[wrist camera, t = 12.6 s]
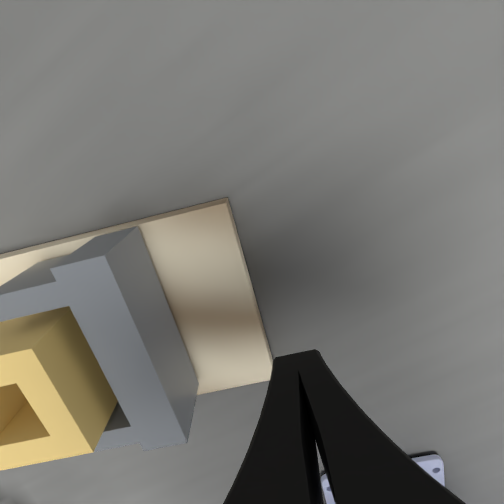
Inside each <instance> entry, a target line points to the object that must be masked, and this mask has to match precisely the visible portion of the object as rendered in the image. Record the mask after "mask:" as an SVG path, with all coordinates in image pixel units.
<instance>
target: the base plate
mask: <svg viewBox="0 0 504 504" xmlns="http://www.w3.org/2000/svg"><path fill="white" fill-rule="evenodd" d="M136 226H138V228H139V231H140V233H141V236H142V238H143V241H144V244H145V246H146V249H147V251H148V254H149V256H150V259H151V262H152V264H153V267H154V269H155V272H156V274H157V277H158V280H159V282H160V285H161V287H162V290H163V292H164V295H165V298H166V300H167V303H168V305H169V308H170V310H171V313H172V316H173V318H174V321H175V323H176V326H177V328H178V331H179V334H180V336H181V339H182V341H183V344H184V346H185V349H186V352H187V354H188V357H189V359H190V362H191V364H192V367H193V370H194V372H195V375H196V377H197V380H198V382H199V386H198V391H197V395H199V394H204V393H209V392H214V391H219V390H224V389H229V388H234V387H238V386H243V385H248V384H253V383H258V382H263V381H268V380H270V378H271V372H272V365H273V359H272V356H271V352H270V348H269V345H268V341H267V338H266V334H265V330H264V327H263V323H262V320H261V316H260V312H259V309H258V305H257V302H256V298H255V294H254V291H253V287H252V284H251V280H250V276H249V273H248V269H247V265H246V262H245V258H244V255H243V251H242V247H241V244H240V240H239V237H238V233H237V229H236V226H235V222H234V219H233V215H232V211H231V208H230V204H229V201H228V197H227V198H223V199H219V200H215V201H211V202H207V203H203V204H199V205H195V206H191V207H187V208H183V209H179V210H175V211H171V212H167V213H163V214H159V215H155V216H151V217H147V218H143V219H139V220H135V221H131V222H127V223H123V224H119V225H115V226H111V227H107V228H103V229H99V230H95V231H91V232H87V233H83V234H79V235H75V236H71V237H67V238H64V239H60V240H56V241H52V242H48V243H44V244H40V245H36V246H32V247H28V248H24V249H20V250H16V251H12V252H8V253H4V254H0V286H1V285H3V284H5V283H6V282H8V281H9V280H11V279H12V278H14V277H16V276H17V275H19V274H20V273H22V272H23V271H25V270H27V269H28V268H30V267H31V266H33V265H35V264H36V263H38V262H41V261H45V260H49V259H53V258H57V257H61V256H65V255H69V254H71V253H73V252H74V251H76V250H77V249H78V248H80V247H81V246H83V245H84V244H86V243H87V242H88V241H90V240H91V239H93V238H94V237H96V236H100V235H104V234H108V233H112V232H116V231H120V230H124V229H128V228H132V227H136Z"/></svg>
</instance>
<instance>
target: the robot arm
mask: <svg viewBox="0 0 504 504" xmlns="http://www.w3.org/2000/svg"><path fill="white" fill-rule="evenodd" d="M315 440H316V441H315ZM316 443H317V446H318V450H319V453H320V456H321V459H322V463H323V466H324V469H325V472H326V474H324V475H322V477H321V481H320V473H319V465H318V457H317V449H316ZM321 484H322V488H323V492H324V496H325V499H326V503H327V504H465V503H464V502H463V501H462V500H460V499H459V498H458V497H457V496H455V495H454V494H453V493H452V492H450V491H449V490H448V489H447V488H445V483H444V464H443V461H442V459H441V457H440V456H439V455H435V454H434V455H427V456H421V457H416V458H410V457H409V456H408V455H407V454H406V453H405V452H403V451H402V450H401V449H400V448H399V447H398V446H397V445H396V444H395V443H394V442H393V441H392V440H391V439H390V438H389V437H388V436H387V435H386V434H385V433H384V432H383V431H382V430H381V429H380V428H379V427H378V426H377V425H376V424H375V423H374V422H373V421H372V420H371V419H370V418H369V417H368V416H367V415H366V414H365V413H364V411H363V410H362V409H361V408H360V407H359V406H358V405H357V404H356V402H355V401H354V400H353V399H352V398H351V396H350V395H349V394H348V393H347V392H346V390H345V389H344V388H343V387H342V385H341V384H340V383H339V382H338V380H337V379H336V378H335V376H334V375H333V373H332V372H331V371H330V369H329V368H328V366H327V365H326V363H325V361H324V360H323V358H322V356H321V354H320V352H319V351H317V350H315V349H314V350H309V351H305V352H300V353H295V354H290V355H285V356H280V357H276V358H275V359H274V360H273V365H272V372H271V378H270V382H269V386H268V391H267V395H266V398H265V401H264V405H263V408H262V412H261V415H260V418H259V421H258V424H257V427H256V429H255V432H254V435H253V438H252V441H251V443H250V446H249V449H248V451H247V453H246V456H245V458H244V461H243V463H242V465H241V468H240V470H239V472H238V474H237V477H236V479H235V481H234V483H233V485H232V487H231V489H230V491H229V493H228V495H227V497H226V499H225V501H224V503H223V504H323V497H322V489H321Z"/></svg>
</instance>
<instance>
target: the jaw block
mask: <svg viewBox="0 0 504 504" xmlns="http://www.w3.org/2000/svg"><path fill="white" fill-rule="evenodd" d="M117 402H118V400H117V398H116V396H115V394H114V392H113V390H112V388H111V386H110V384H109V383H108V381H107V379H106V377H105V375H104V373H103V371H102V369H101V367H100V365H99V363H98V361H97V359H96V357H95V355H94V353H93V351H92V350H91V348H90V346H89V344H88V342H87V340H86V338H85V336H84V334H83V332H82V330H81V328H80V326H79V324H78V322H77V320H76V318H75V317H74V315H73V313H72V311H71V309H70V307H69V306H66V307H62V308H58V309H53V310H49V311H45V312H41V313H36V314H32V315H28V316H23V317H19V318H15V319H10V320H6V321H2V322H0V470H5V469H10V468H15V467H21V466H26V465H31V464H36V463H41V462H46V461H51V460H56V459H61V458H67V457H72V456H77V455H82V454H87V453H92V452H94V450H95V448H96V446H97V444H98V441H99V439H100V437H101V435H102V433H103V431H104V429H105V427H106V425H107V423H108V421H109V419H110V416H111V414H112V412H113V410H114V408H115V406H116V404H117Z"/></svg>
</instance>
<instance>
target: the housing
mask: <svg viewBox="0 0 504 504" xmlns="http://www.w3.org/2000/svg"><path fill="white" fill-rule="evenodd" d="M66 306H69V307H70V309H71V311H72V313H73V315H74V317H75V318H76V320H77V322H78V324H79V326H80V328H81V330H82V332H83V334H84V336H85V338H86V340H87V342H88V344H89V346H90V348H91V350H92V351H93V353H94V355H95V357H96V359H97V361H98V363H99V365H100V367H101V369H102V371H103V373H104V375H105V377H106V379H107V381H108V383H109V384H110V386H111V388H112V390H113V392H114V394H115V396H116V398H117V400H118V402H117V404H116V406H115V408H114V410H113V412H112V414H111V416H110V419H109V421H108V423H107V425H106V427H105V429H104V431H103V433H102V435H101V437H100V439H99V441H98V444H97V446H96V448H95V450H94V452H96V451H101V450H106V449H112V448H117V447H122V446H127V445H132V444H137V443H140V445H141V447H142V449H143V451H147V450H152V449H157V448H162V447H167V446H173V445H178V444H183V443H187V442H188V437H189V432H190V427H191V421H192V416H193V411H194V406H195V401H196V396H197V391H198V386H199V382H198V380H197V377H196V375H195V372H194V370H193V367H192V364H191V362H190V359H189V357H188V354H187V352H186V349H185V346H184V344H183V341H182V339H181V336H180V334H179V331H178V328H177V326H176V323H175V321H174V318H173V316H172V313H171V310H170V308H169V305H168V303H167V300H166V298H165V295H164V292H163V290H162V287H161V285H160V282H159V280H158V277H157V274H156V272H155V269H154V267H153V264H152V262H151V259H150V256H149V254H148V251H147V249H146V246H145V244H144V241H143V238H142V236H141V233H140V231H139V228H138V226H136V227H132V228H128V229H124V230H120V231H116V232H112V233H108V234H104V235H100V236H96V237H94V238H93V239H91V240H90V241H88V242H87V243H86V244H84V245H83V246H81V247H80V248H78V249H77V250H76V251H74V252H73V253H71V254H69V255H65V256H61V257H57V258H53V259H49V260H45V261H41V262H38V263H36V264H35V265H33V266H31V267H30V268H28V269H27V270H25V271H23V272H22V273H20V274H19V275H17V276H16V277H14V278H12V279H11V280H9V281H8V282H6V283H5V284H3V285H1V286H0V322H2V321H6V320H10V319H15V318H19V317H23V316H28V315H32V314H36V313H41V312H45V311H49V310H53V309H58V308H62V307H66Z"/></svg>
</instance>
